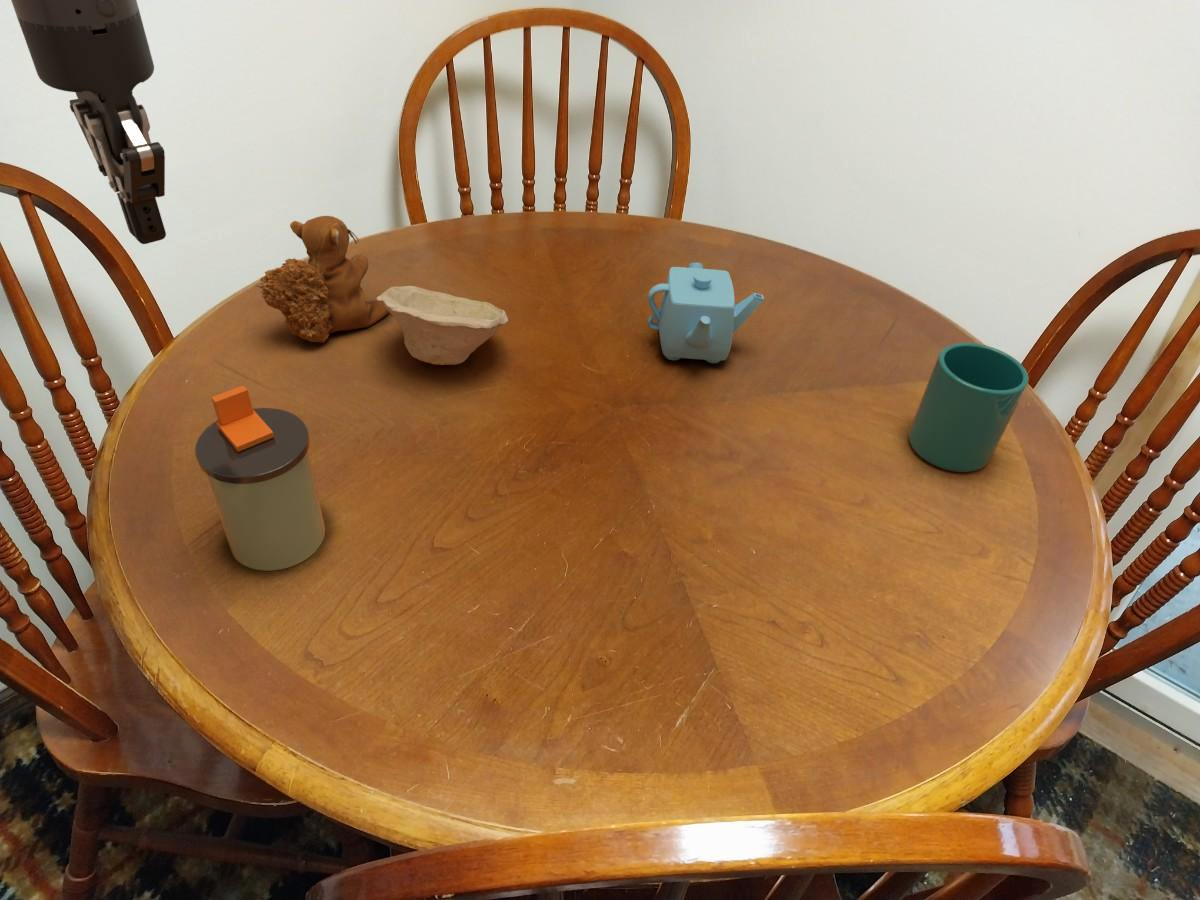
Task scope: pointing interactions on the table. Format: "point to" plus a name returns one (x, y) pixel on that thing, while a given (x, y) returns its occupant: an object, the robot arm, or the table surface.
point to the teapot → (698, 313)
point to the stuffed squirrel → (322, 284)
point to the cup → (967, 406)
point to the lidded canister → (265, 493)
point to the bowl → (441, 323)
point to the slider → (240, 419)
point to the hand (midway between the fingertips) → (149, 236)
